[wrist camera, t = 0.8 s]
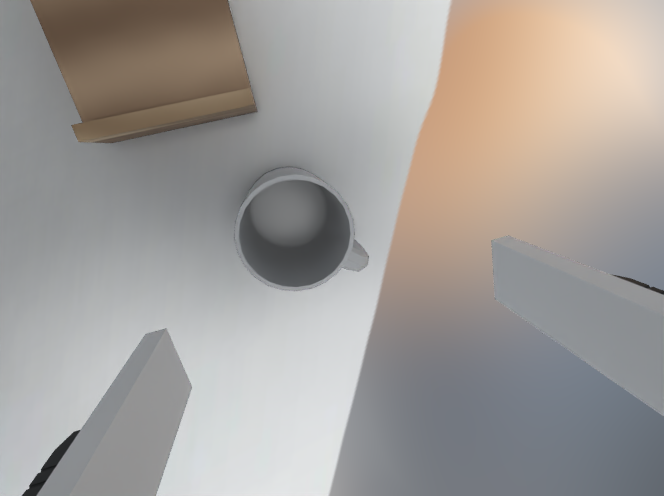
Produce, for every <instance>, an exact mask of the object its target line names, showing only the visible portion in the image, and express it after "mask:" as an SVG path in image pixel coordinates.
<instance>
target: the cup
mask: <svg viewBox="0 0 664 496" xmlns="http://www.w3.org/2000/svg"><path fill="white" fill-rule="evenodd" d="M354 235H355V233H354V223H353V218H352V215H351V212H350V210H349V207H348V205H347V204H346V202H345V201H344V199H343V198H342V197H341V195H340V194H339V193H338V192H337V191H336V190H334V189H333V188H332V187H331V186H329V185H328V184H327V183H325V182H324V181H322V180H321V179H319V178H318V177H317V176H315V175H314V174H312V173H310V172H307V171H305V170H303V169H299V168H292V167H285V168H278V169H275V170H273V171H270V172H268V173H266V174H265V175H263V176H262V177H261V178H260V179H258V180H257V181H256V182H255V184H254V185H253V187H252V188H251V189H250V191H249V193H248V195H247V196H246V198H245V200H244V202H243V204H242V205H241V207H240V210H239V213H238V216H237V219H236V221H235V233H234V239H235V244H236V248H237V253H238V255H239V257H240V258H241V260H242V262H243V264H244V266H245V267H246V268H247V269H248V270H249V272H250V273H251V274H252V275H253V276H254V277H255V278H257V279H258V280H260V281H262V282H263V283H265V284H266V285H268V286H271V287H274V288H277V289H281V290H289V291H300V290H306V289H311V288H314V287H316V286H318V285H321V284H323V283H325V282H327V281H328V280H329V279H331V278H332V277H333V276H334V275H336V274H337V273H338V272H339V270H340V269H341V268H345V269H347V270H353V271H360V270H362V269H363V268H365V267H366V266H367V265H368V259H369V256H368V254H367V252H366V251H365V250H364V248H363V247H362V246H361V245H360V244H359V243H358V242H357V241H356V240H354Z"/></svg>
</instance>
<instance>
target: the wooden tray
mask: <svg viewBox="0 0 664 496" xmlns="http://www.w3.org/2000/svg"><path fill="white" fill-rule="evenodd" d="M30 1H31V3H32V5H33V8H34V10H35V12H36V15H37V17H38V19H39V22H40V24H41V26H42V29H43V31H44V33H45V36H46V38H47V40H48V43H49V45H50V47H51V50H52V52H53V54H54V57H55V59H56V61H57V64H58V66H59V68H60V71H61V73H62V75H63V78H64V80H65V82H66V85H67V87H68V89H69V92H70V94H71V96H72V99H73V101H74V103H75V106H76V108H77V110H78V113H79V115H80V117H81V120H82V122H83V123H79V124H74V125H71V126H72V128H73V130H74V133H75V135H76V137H77V139H78V142H95V143H114V142H119V141H124V140H128V139H133V138H137V137H142V136H147V135H151V134H156V133H161V132H165V131H170V130H174V129H179V128H184V127H188V126H193V125H198V124H202V123H207V122H211V121H216V120H221V119H225V118H230V117H235V116H239V115H244V114H249V113H253V112H257V108H256V105H255V101H254V97H253V93H252V90H251V86H250V82H249V78H248V75H247V71H246V67H245V63H244V60H243V56H242V52H241V48H240V45H239V41H238V37H237V33H236V30H235V26H234V22H233V18H232V15H231V11H230V7H229V3H228V0H30Z"/></svg>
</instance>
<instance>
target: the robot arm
mask: <svg viewBox="0 0 664 496" xmlns="http://www.w3.org/2000/svg"><path fill="white" fill-rule="evenodd" d="M491 242H492V258H493V277H494V293H495V300H497V301H498V302H500V303H501V304H503V305H504V306H505V307H507V308H508V309H510V310H511V311H513V312H514V313H516V314H517V315H518V316H520V317H521V318H523V319H524V320H526V321H527V322H528V323H530V324H531V325H533V326H534V327H536V328H537V329H539V330H540V331H541V332H543V333H544V334H546V335H547V336H549V337H550V338H552V339H553V340H554V341H556V342H557V343H559V344H560V345H562V346H563V347H565V348H566V349H568V350H569V351H570V352H572V353H573V354H575V355H576V356H577V357H579V358H580V359H582V360H583V361H585V362H586V363H588V364H589V365H591V366H592V367H593V368H595V369H596V370H598V371H599V372H601V373H602V374H603V375H605V376H606V377H608V378H609V379H611V380H612V381H614V382H615V383H616V384H618V385H619V386H621V387H622V388H624V389H625V390H627V391H628V392H629V393H631V394H632V395H634V396H635V397H637V398H638V399H639V400H641V401H642V402H644V403H645V404H647V405H648V406H650V407H651V408H653V409H654V410H655V411H657V412H658V413H660V414H661V415H663V416H664V291H663V290H660V289H657V288H655V287H649V285H647V284H644V283H641V282H639V281H636V280H633V279H630V278H625V277H621V276H616V275H611V274H608V273H605V272H602V271H600V270H597V269H595V268H592V267H589V266H587V265H584V264H582V263H579V262H576V261H574V260H571V259H568V258H566V257H563V256H560V255H558V254H555V253H553V252H550V251H548V250H545V249H542V248H539V247H537V246H535V245H532V244H529V243H527V242H524V241H522V240H519V239H516V238H513V237H511V236H505V237H501V238H498V239H494V240H492V241H491ZM191 389H192V386H191V383H190V381H189V379H188V376H187V374H186V372H185V370H184V367H183V365H182V363H181V360H180V358H179V356H178V354H177V351H176V349H175V347H174V345H173V342H172V340H171V338H170V335H169V333H168V331H167V329H163V330H159V331H155V332H152V333H148V334H145V336H144V337H143V339H142V340H141V342H140V343H139V345H138V346H137V347H136V349H135V350H134V352H133V353H132V355H131V356H130V358H129V359H128V361H127V362H126V364H125V365H124V367H123V368H122V370H121V371H120V373H119V374H118V376H117V377H116V379H115V380H114V382H113V383H112V385H111V386H110V387H109V389H108V390H107V392H106V393H105V395H104V396H103V398H102V399H101V401H100V402H99V404H98V405H97V407H96V408H95V410H94V411H93V413H92V414H91V416H90V417H89V419H88V420H87V422H86V423H85V425H84V426H83V427H82V429H81V430H79V431H75V432H73V433H72V434H71V435H70V436H69V437H68V438H67V439H66V440H65V441H64V442H63V443H62V444H61V445H60V446H59V447H58V448H57V449H55V450H54V452H53V453H52V455H51V456H50V457H49V459H48V460H47V462H46V463H45V464H44V466H43V467H42V469H41V473H38V474H37V476H36V477H35V478H34V480H33V481H32V483H31V484H30V485H29V489H28V490H26V491H25V492H24V494H23V495H22V496H156V494H157V491H158V488H159V485H160V482H161V479H162V476H163V473H164V470H165V467H166V464H167V461H168V458H169V455H170V452H171V449H172V446H173V443H174V440H175V437H176V434H177V431H178V428H179V425H180V422H181V419H182V416H183V413H184V410H185V407H186V404H187V401H188V398H189V395H190V392H191Z"/></svg>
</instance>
